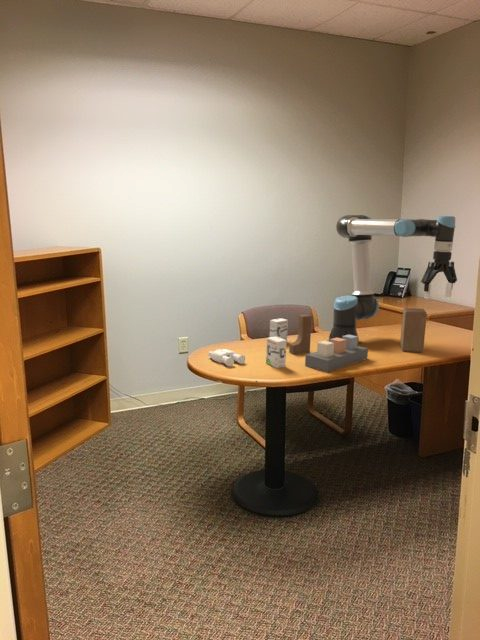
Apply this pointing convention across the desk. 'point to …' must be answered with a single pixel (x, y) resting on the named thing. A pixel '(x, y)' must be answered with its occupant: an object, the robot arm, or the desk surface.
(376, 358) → the desk surface
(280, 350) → the ink box
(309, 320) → the wooden block
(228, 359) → the binoculars
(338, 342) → the salmon pink block
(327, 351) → the cream plunger
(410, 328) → the wooden block
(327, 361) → the gray slotted tray
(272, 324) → the ink box
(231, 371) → the desk surface
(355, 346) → the slate-blue plunger
